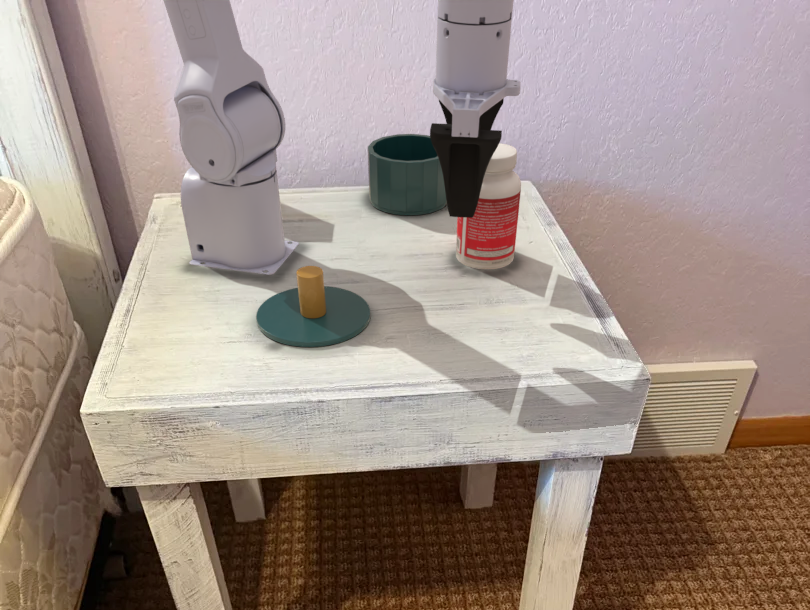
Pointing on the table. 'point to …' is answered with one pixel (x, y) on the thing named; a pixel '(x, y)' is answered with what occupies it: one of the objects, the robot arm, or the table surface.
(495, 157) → the pill bottle
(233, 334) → the table surface
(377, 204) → the tin
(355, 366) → the table surface
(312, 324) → the lid
